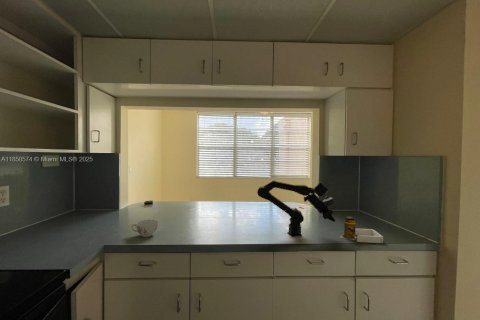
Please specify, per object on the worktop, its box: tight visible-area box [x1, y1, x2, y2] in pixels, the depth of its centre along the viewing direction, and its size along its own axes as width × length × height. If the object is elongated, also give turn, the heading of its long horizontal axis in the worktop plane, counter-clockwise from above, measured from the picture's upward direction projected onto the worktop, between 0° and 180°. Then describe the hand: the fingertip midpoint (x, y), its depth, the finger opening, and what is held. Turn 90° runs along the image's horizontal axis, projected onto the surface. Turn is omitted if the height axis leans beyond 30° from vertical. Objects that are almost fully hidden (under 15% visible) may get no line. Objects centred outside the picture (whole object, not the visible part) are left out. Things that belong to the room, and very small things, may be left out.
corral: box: [355, 227, 384, 244], centre depth 150 cm, size 14×14×4 cm
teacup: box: [130, 219, 159, 238], centre depth 149 cm, size 15×12×8 cm
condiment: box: [339, 216, 357, 241], centre depth 151 cm, size 7×8×12 cm
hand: (334, 221), depth 152 cm, fingers closed
